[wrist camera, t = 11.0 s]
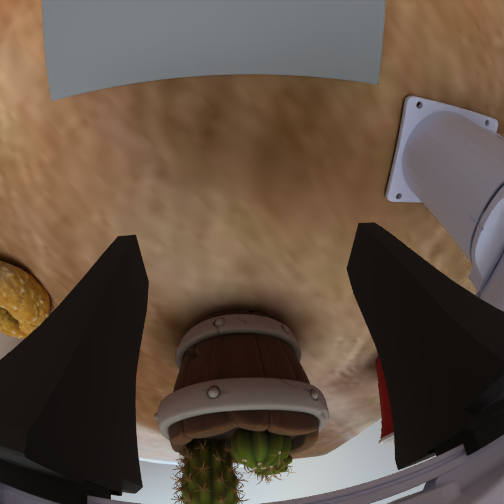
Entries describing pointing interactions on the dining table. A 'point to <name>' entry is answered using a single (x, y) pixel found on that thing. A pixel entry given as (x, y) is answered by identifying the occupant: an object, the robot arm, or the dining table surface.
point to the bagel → (21, 302)
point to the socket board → (208, 40)
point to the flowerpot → (238, 404)
